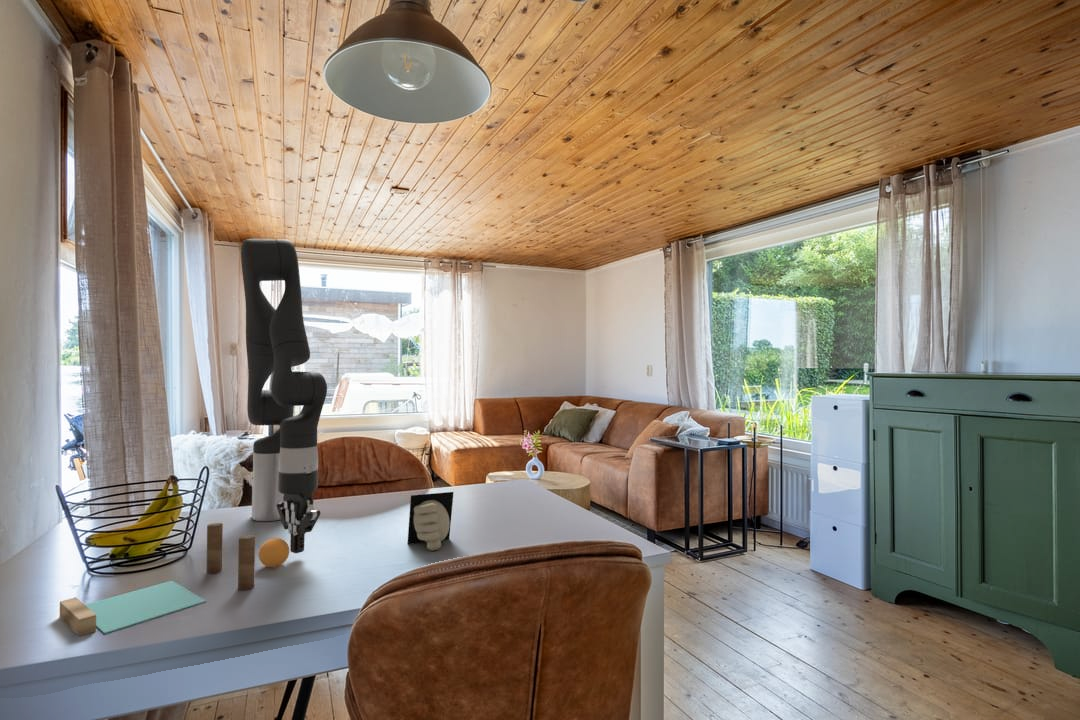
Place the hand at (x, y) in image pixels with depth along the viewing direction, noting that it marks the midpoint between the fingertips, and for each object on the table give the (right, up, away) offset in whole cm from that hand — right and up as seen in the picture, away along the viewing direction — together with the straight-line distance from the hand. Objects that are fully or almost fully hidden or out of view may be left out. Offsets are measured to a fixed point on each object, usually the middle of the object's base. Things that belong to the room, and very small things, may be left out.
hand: (297, 551), depth 114 cm
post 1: (-13, -1, -7) cm, 15 cm away
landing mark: (-16, -1, -22) cm, 27 cm away
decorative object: (+26, -2, +9) cm, 28 cm away
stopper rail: (-21, -1, -29) cm, 36 cm away
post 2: (-3, -2, -14) cm, 15 cm away
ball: (-3, +1, -4) cm, 5 cm away
